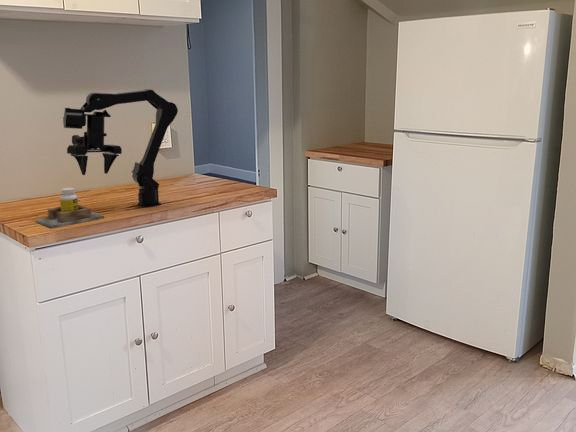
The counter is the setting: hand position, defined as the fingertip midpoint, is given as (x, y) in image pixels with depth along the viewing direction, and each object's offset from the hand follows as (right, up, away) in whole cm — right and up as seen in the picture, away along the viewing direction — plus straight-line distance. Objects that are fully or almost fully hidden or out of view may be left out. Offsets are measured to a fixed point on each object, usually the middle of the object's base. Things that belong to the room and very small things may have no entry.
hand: (94, 174), depth 196 cm
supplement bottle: (-5, -15, -10) cm, 19 cm away
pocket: (-5, -16, -10) cm, 19 cm away
